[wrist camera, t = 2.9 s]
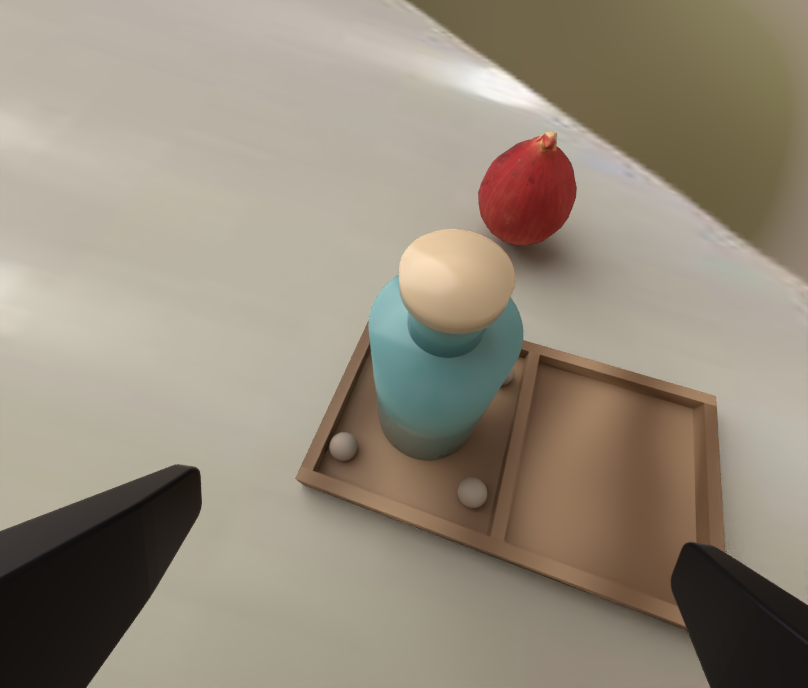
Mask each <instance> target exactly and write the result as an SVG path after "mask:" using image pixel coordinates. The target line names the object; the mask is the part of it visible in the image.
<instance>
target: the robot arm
mask: <svg viewBox="0 0 808 688" xmlns="http://www.w3.org/2000/svg"><path fill="white" fill-rule="evenodd" d="M201 505H202V496H201V475H200V471H199V469H198V468H196V467H193V466H187V465H179V464H177V465H173V466H170V467H168V468H165V469H162V470H160V471H157V472H154V473H152V474H149V475H147V476H144V477H141V478H139V479H136V480H133V481H131V482H128V483H126V484H123V485H120V486H118V487H115V488H112V489H110V490H107V491H105V492H102V493H99V494H97V495H94V496H91V497H89V498H86V499H84V500H81V501H78V502H76V503H73V504H70V505H68V506H65V507H63V508H60V509H57V510H55V511H52V512H49V513H47V514H44V515H42V516H39V517H36V518H34V519H31V520H28V521H26V522H23V523H21V524H18V525H15V526H13V527H10V528H7V529H5V530H2V531H0V688H86V687H87V686H88V684H89V683H90V682H91V680H92V679H93V677H94V676H95V675H96V673H97V672H98V670H99V669H100V667H101V666H102V665H103V663H104V662H105V660H106V659H107V658H108V656H109V655H110V653H111V652H112V651H113V649H114V648H115V646H116V645H117V644H118V642H119V641H120V639H121V638H122V637H123V635H124V634H125V632H126V631H127V630H128V628H129V627H130V625H131V624H132V623H133V621H134V620H135V618H136V617H137V616H138V614H139V613H140V611H141V610H142V608H143V607H144V605H145V604H146V603H147V601H148V600H149V598H150V597H151V595H152V594H153V592H154V590H155V589H156V587H157V585H158V584H159V582H160V581H161V579H162V577H163V575H164V574H165V572H166V570H167V569H168V567H169V565H170V564H171V562H172V560H173V558H174V557H175V555H176V553H177V552H178V550H179V548H180V547H181V545H182V543H183V541H184V540H185V538H186V536H187V535H188V533H189V531H190V530H191V528H192V526H193V524H194V523H195V521H196V519H197V518H198V516H199V513H200V510H201ZM671 590H672V593H673V596H674V598H675V601H676V603H677V606H678V608H679V611H680V613H681V616H682V618H683V621H684V623H685V626H686V628H687V631H688V633H689V636H690V638H691V641H692V643H693V646H694V648H695V651H696V653H697V656H698V658H699V661H700V663H701V666H702V668H703V671H704V673H705V676H706V678H707V681H708V683H709V685H710V688H808V605H807V604H805V603H804V602H802V601H800V600H799V599H797V598H796V597H794V596H793V595H791V594H789V593H788V592H786V591H785V590H783V589H782V588H780V587H778V586H777V585H775V584H774V583H772V582H771V581H769V580H767V579H766V578H764V577H763V576H761V575H760V574H758V573H756V572H755V571H753V570H752V569H750V568H748V567H747V566H745V565H744V564H742V563H741V562H739V561H737V560H736V559H734V558H733V557H731V556H730V555H728V554H726V553H725V552H723V551H722V550H720V549H719V548H717V547H715V546H713V545H709V544H703V543H696V542H687V543H685V544H684V545H683V546H682V548H681V551H680V554H679V556H678V559H677V562H676V564H675V567H674V570H673V572H672V575H671Z"/></svg>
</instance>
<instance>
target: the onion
mask: <svg viewBox="0 0 808 688" xmlns="http://www.w3.org/2000/svg"><path fill="white" fill-rule="evenodd" d="M556 137H557V133H555V132H545V133H544V134H543V135H541V136H538V137H535V138H533V139H531V140H526V141H523V142H520V143H518V144H516V145H514V146H513V147H512V148H510V149H509V150H507V151H506V152H504V153H503V154H501V155H500V156H498V157H497V158H496V159H495V160H494V161H493V162H492V164H491V166H490V167H489V169H488V170H487V173H486V175H485V177H484V179H483V181H482V183H481V186H480V189H479V192H478V200H479V208H480V214H481V217H482V219H483V221H484V223H485V224H486V226H487V227H488V229H489V230H490V232H491V233H492V234H494V235H495V236H497V237H498V238H499V239H501V240H502V241H504V242H507V243H510V244H514V245H530V244H534V243H538V242H542V241H544V240H545V239H547V238H548V237H550V236H551V235H552V234H554V233H555V232H556V231H558V230H559V229H560V228H561V227H562V226H563V224H564V223H565V222H566V220H567V219H568V217H569V215H570V212H571V210H572V207H573V204H574V201H575V199H576V189H577V187H576V182H575V177H574V171H573V167H572V164H571V162H570V161H569V159H568V158H567V156H566V155H565V154H564V153H563V151H562V150H561V149H560V148H558V147H557V146H556V143H557V142H556Z"/></svg>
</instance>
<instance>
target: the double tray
mask: <svg viewBox="0 0 808 688" xmlns="http://www.w3.org/2000/svg"><path fill="white" fill-rule="evenodd" d="M368 325H369V321H368V323H367V325H366V327H365V329H364V332H363V334H362V336H361V338H360V340H359V342H358V344H357V347H356V349H355V351H354V353H353V355H352V357H351V360H350V362H349V364H348V366H347V368H346V370H345V373H344V375H343V377H342V379H341V381H340V383H339V385H338V388H337V390H336V392H335V394H334V396H333V398H332V401H331V403H330V405H329V407H328V409H327V411H326V414H325V416H324V418H323V420H322V422H321V424H320V426H319V429H318V431H317V433H316V435H315V437H314V439H313V442H312V444H311V446H310V448H309V450H308V452H307V454H306V457H305V459H304V461H303V463H302V465H301V467H300V470H299V472H298V474H297V476H296V478H295V479H296V480H298V481H299V482H300V483H301V484H303V485H306V486H309V487H311V488H314V489H317V490H319V491H322V492H325V493H327V494H330V495H332V496H335V497H338V498H340V499H343V500H346V501H348V502H351V503H354V504H356V505H359V506H361V507H364V508H367V509H369V510H372V511H375V512H377V513H380V514H383V515H385V516H388V517H390V518H393V519H396V520H398V521H401V522H404V523H406V524H409V525H412V526H414V527H417V528H419V529H422V530H425V531H427V532H430V533H433V534H435V535H438V536H441V537H443V538H446V539H449V540H451V541H454V542H456V543H459V544H462V545H464V546H467V547H470V548H472V549H475V550H478V551H480V552H483V553H485V554H488V555H491V556H493V557H496V558H499V559H501V560H504V561H507V562H509V563H512V564H514V565H517V566H520V567H522V568H525V569H528V570H530V571H533V572H536V573H538V574H541V575H543V576H546V577H549V578H551V579H554V580H557V581H559V582H562V583H565V584H567V585H570V586H572V587H575V588H578V589H580V590H583V591H586V592H588V593H591V594H594V595H596V596H599V597H601V598H604V599H607V600H609V601H612V602H615V603H617V604H620V605H623V606H625V607H628V608H630V609H633V610H636V611H638V612H641V613H644V614H646V615H649V616H652V617H654V618H657V619H659V620H662V621H665V622H667V623H670V624H673V625H675V626H678V627H681V628H683V629H686V630H687V628H686V626H685V623H684V621H683V618H682V616H681V613H680V611H679V608H678V606H677V603H676V601H675V598H674V596H673V593H672V590H671V575H672V572H673V570H674V567H675V564H676V562H677V559H678V556H679V554H680V551H681V548H682V546H683V545H684V544H685V543H687V542H696V543H703V544H709V545H713V546H715V547H717V548H719V549H720V550H722V551H723V552H725V542H724V525H723V508H722V490H721V473H720V456H719V439H718V422H717V404H716V396H714V395H710V394H707V393H703V392H700V391H696V390H693V389H690V388H686V387H683V386H679V385H676V384H672V383H669V382H665V381H662V380H659V379H655V378H652V377H648V376H645V375H641V374H638V373H634V372H631V371H627V370H624V369H621V368H617V367H614V366H610V365H607V364H603V363H600V362H596V361H593V360H590V359H586V358H583V357H579V356H576V355H572V354H569V353H565V352H562V351H558V350H555V349H552V348H548V347H545V346H541V345H538V344H534V343H531V342H527V341H524V340H523V343H522V348H521V351H520V354H519V357H518V359H517V361H516V363H515V364H514V366H513V368H512V369H511V371H510V373H509V374H508V376H507V377H506V379H505V381H504V382H503V384H502V386H501V387H500V389H499V391H498V392H497V394H496V395H495V397H494V399H493V400H492V402H491V404H490V405H489V407H488V408H487V410H486V412H485V413H484V415H483V417H482V418H481V420H480V421H479V423H478V425H477V426H476V428H475V430H474V431H473V433H472V434H471V436H470V438H469V439H468V441H467V442H466V443H465V445H464V446H463V447H462V448H461V449H459V450H458V451H457V452H455V453H454V454H452V455H450V456H448V457H445V458H442V459H438V460H419V459H415V458H412V457H409V456H407V455H405V454H403V453H401V452H400V451H398V450H397V449H396V448H395V447H394V446H393V445H392V444H391V443H390V442H389V441H388V439H387V438H386V437H385V435H384V433H383V431H382V428H381V426H380V422H379V416H378V407H377V398H376V390H375V381H374V372H373V364H372V355H371V346H370V338H369V326H368Z"/></svg>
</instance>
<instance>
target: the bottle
mask: <svg viewBox="0 0 808 688" xmlns="http://www.w3.org/2000/svg"><path fill="white" fill-rule="evenodd" d="M514 285H515V271H514V267H513V264H512V262H511V260H510V258H509V257H508V255H507V254H506V253H505V252H504V250H503V249H502V248H501V247H500V246H498V245H497V244H496V243H495V242H493V241H492V240H490V239H488V238H487V237H485V236H482V235H480V234H477V233H474V232H471V231H466V230H460V229H445V230H438V231H434V232H431V233H428V234H426V235H424V236H422V237H420V238H418V239H417V240H415V241H414V242H413V243H412V244H411V245H410V246H409V247H408V248H407V249H406V251H405V252H404V254H403V256H402V258H401V261H400V266H399V275H398V276H396V277H395V278H394V279H392V280H391V281H390V282H389V283H388V284H387V285H385V286H384V287H383V289H382V290H381V291H380V292H379V294H378V295H377V297H376V299H375V301H374V303H373V305H372V308H371V311H370V315H369V325H368V326H369V338H370V346H371V355H372V364H373V372H374V381H375V390H376V398H377V407H378V416H379V422H380V426H381V428H382V431H383V433H384V435H385V437H386V438H387V439H388V441H389V442H390V443H391V444H392V445H393V446H394V447H395V448H396V449H397V450H398V451H400V452H401V453H403V454H405V455H407V456H409V457H412V458H415V459H419V460H438V459H442V458H445V457H448V456H450V455H452V454H454V453H455V452H457V451H458V450H459V449H461V448H462V447H463V446H464V445H465V443H466V442H467V441H468V439H469V438H470V436H471V434H472V433H473V431H474V430H475V428H476V426H477V425H478V423H479V421H480V420H481V418H482V417H483V415H484V413H485V412H486V410H487V408H488V407H489V405H490V404H491V402H492V400H493V399H494V397H495V395H496V394H497V392H498V391H499V389H500V387H501V386H502V384H503V382H504V381H505V379H506V377H507V376H508V374H509V373H510V371H511V369H512V368H513V366H514V364H515V363H516V361H517V359H518V357H519V354H520V351H521V348H522V343H523V325H522V320H521V317H520V313H519V311H518V309H517V307H516V305H515V303H514V302H513V300H512V299H511V295H512V292H513V289H514Z"/></svg>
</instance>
